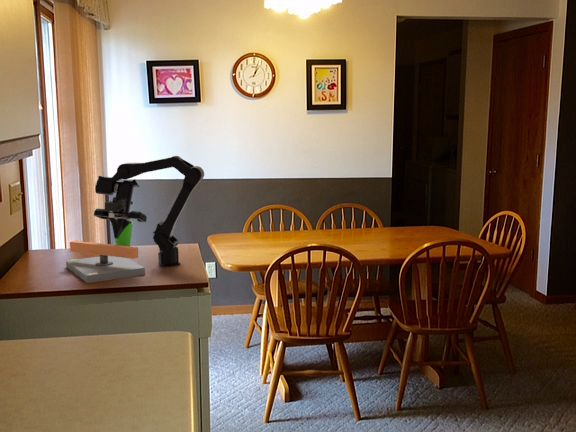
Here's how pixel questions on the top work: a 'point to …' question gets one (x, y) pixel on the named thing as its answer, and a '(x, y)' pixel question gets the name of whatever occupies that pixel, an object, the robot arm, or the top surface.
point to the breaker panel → (104, 268)
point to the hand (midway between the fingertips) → (116, 238)
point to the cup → (125, 236)
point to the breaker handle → (104, 250)
